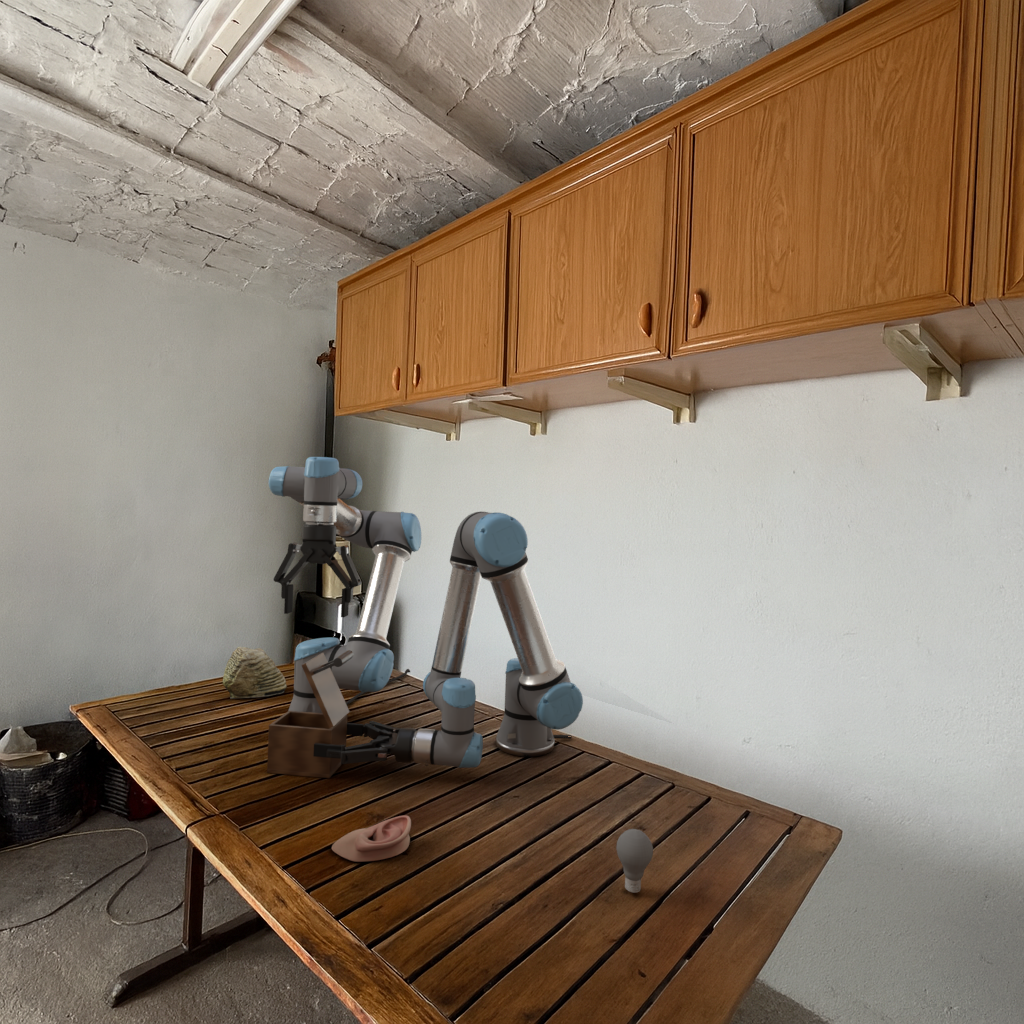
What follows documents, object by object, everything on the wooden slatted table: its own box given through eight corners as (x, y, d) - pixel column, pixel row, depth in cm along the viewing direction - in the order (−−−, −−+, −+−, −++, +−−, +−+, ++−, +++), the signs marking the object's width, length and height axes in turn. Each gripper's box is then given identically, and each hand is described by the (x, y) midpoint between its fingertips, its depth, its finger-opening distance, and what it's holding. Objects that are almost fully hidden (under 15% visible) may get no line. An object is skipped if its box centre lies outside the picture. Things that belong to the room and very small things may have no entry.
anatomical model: (323, 834, 111) (353, 804, 123) (323, 856, 111) (352, 824, 123) (394, 845, 109) (418, 814, 120) (393, 868, 109) (417, 834, 120)
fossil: (218, 695, 195) (220, 647, 195) (278, 685, 208) (279, 640, 207) (228, 703, 189) (230, 653, 188) (289, 692, 201) (290, 645, 201)
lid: (301, 665, 143) (334, 650, 142) (319, 654, 153) (350, 640, 152) (329, 728, 142) (362, 713, 142) (345, 713, 153) (376, 699, 152)
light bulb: (610, 879, 108) (613, 822, 108) (644, 879, 109) (647, 822, 109) (619, 902, 102) (622, 840, 102) (655, 901, 103) (658, 840, 103)
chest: (266, 772, 144) (268, 725, 144) (287, 755, 154) (288, 710, 154) (329, 778, 143) (331, 730, 142) (345, 759, 153) (347, 715, 153)
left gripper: (260, 521, 145) (257, 614, 145) (366, 526, 142) (363, 620, 143) (275, 520, 152) (272, 608, 153) (377, 525, 150) (373, 614, 150)
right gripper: (399, 785, 134) (302, 777, 136) (426, 741, 158) (344, 734, 160) (401, 750, 133) (304, 742, 135) (428, 711, 158) (345, 705, 160)
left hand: (316, 614), depth 148 cm, fingers open, 13 cm apart
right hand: (325, 738), depth 148 cm, fingers open, 13 cm apart
